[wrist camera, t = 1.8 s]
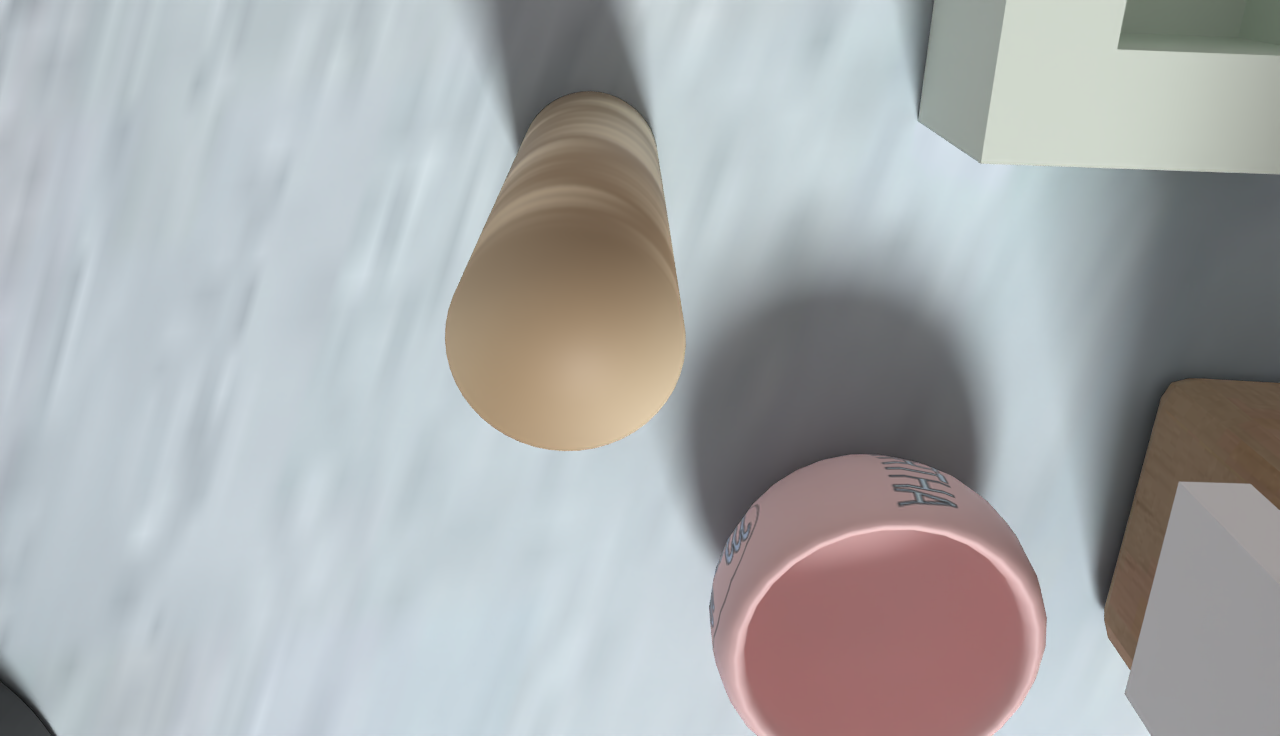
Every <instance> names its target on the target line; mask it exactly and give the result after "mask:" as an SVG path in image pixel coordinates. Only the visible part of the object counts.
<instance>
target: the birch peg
mask: <svg viewBox="0 0 1280 736" xmlns="http://www.w3.org/2000/svg"><path fill="white" fill-rule="evenodd" d="M445 344H446V354H447V358H448V362H449V366H450V370H451V372H452V375H453V377H454V380H455V382H456V384H457V386H458V388H459V390H460V391H461V393H462V395H463V396H464V398H465V399H466V400H467V402H468V403H469V404H470V406H471V407H472V408H473V409H474V410H475V411H476V412H477V413H478V414H479V416H480V417H481V418H483V419H484V420H485V421H486V422H487V423H489V424H490V425H491V426H492V427H494V428H495V429H497V430H498V431H500V432H502V433H503V434H505V435H507V436H509V437H511V438H513V439H515V440H517V441H519V442H522V443H525V444H528V445H531V446H534V447H539V448H544V449H548V450H559V451H579V450H586V449H593V448H597V447H601V446H604V445H608V444H610V443H613V442H615V441H618V440H620V439H623V438H624V437H626V436H628V435H630V434H631V433H633V432H635V431H636V430H638V429H639V428H640V427H642V426H643V425H645V424H646V423H647V422H648V421H649V420H650V419H651V418H652V417H653V416H654V415H656V414H657V413H658V411H659V410H660V409H661V408H662V406H663V405H664V404H665V403H666V401H667V400H668V398H669V396H670V395H671V393H672V391H673V390H674V388H675V386H676V383H677V381H678V379H679V376H680V373H681V369H682V366H683V362H684V355H685V347H686V343H685V327H684V320H683V313H682V307H681V301H680V294H679V288H678V281H677V275H676V268H675V262H674V256H673V249H672V243H671V236H670V230H669V223H668V217H667V211H666V204H665V198H664V191H663V185H662V178H661V172H660V166H659V159H658V153H657V146H656V143H655V139H654V136H653V134H652V132H651V129H650V127H649V126H648V124H647V122H646V121H645V120H644V118H643V117H642V116H641V115H640V113H638V112H637V111H636V110H635V109H634V108H633V107H632V106H631V105H629V104H628V103H626V102H625V101H623V100H621V99H619V98H617V97H615V96H612V95H610V94H606V93H602V92H593V91H584V92H577V93H572V94H568V95H565V96H563V97H561V98H558V99H556V100H555V101H553V102H552V103H550V104H549V105H547V106H546V107H545V108H544V109H543V110H542V111H541V112H540V113H539V114H538V115H537V116H536V117H535V119H534V120H533V122H532V123H531V125H530V127H529V129H528V131H527V133H526V135H525V137H524V139H523V142H522V144H521V146H520V148H519V151H518V153H517V155H516V157H515V159H514V162H513V164H512V166H511V168H510V171H509V173H508V175H507V177H506V179H505V182H504V184H503V186H502V188H501V191H500V193H499V195H498V197H497V200H496V202H495V204H494V206H493V208H492V211H491V213H490V215H489V217H488V220H487V222H486V224H485V226H484V228H483V231H482V233H481V235H480V237H479V240H478V242H477V244H476V246H475V248H474V251H473V253H472V255H471V257H470V260H469V262H468V264H467V266H466V268H465V271H464V273H463V275H462V277H461V280H460V282H459V284H458V286H457V289H456V291H455V293H454V295H453V298H452V301H451V304H450V307H449V310H448V315H447V320H446V329H445Z"/></svg>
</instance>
